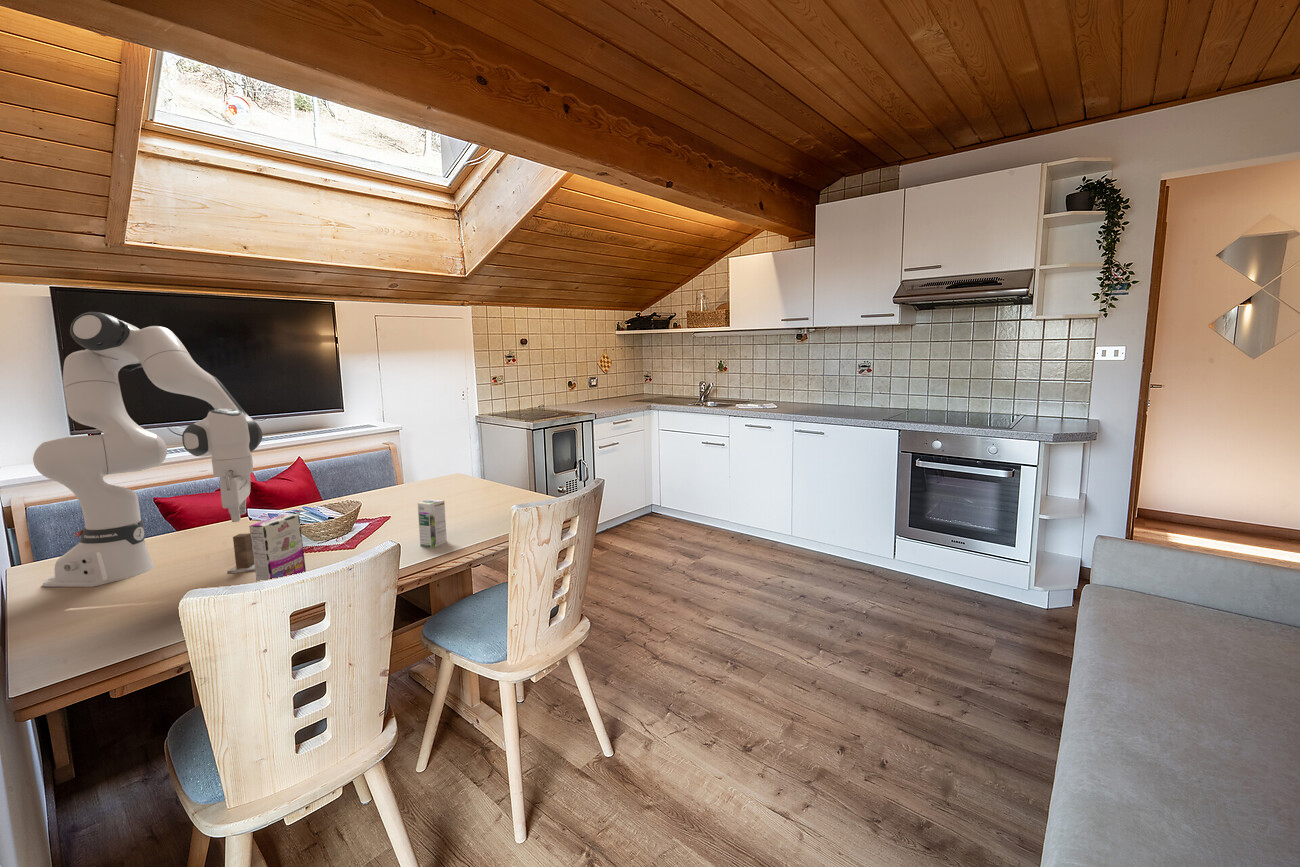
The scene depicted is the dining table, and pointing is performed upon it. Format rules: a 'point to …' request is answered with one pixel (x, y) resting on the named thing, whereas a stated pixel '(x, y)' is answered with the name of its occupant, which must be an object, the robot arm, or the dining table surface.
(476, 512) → the dining table surface
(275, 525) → the candy bar box
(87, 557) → the robot arm
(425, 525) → the syrup box
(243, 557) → the upright block on plate
